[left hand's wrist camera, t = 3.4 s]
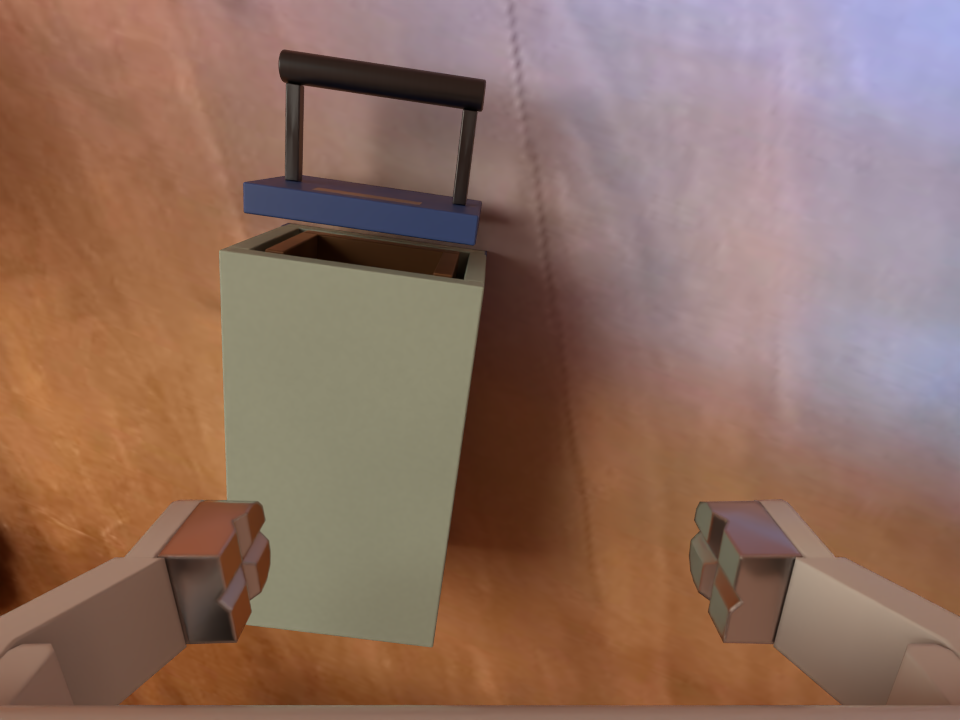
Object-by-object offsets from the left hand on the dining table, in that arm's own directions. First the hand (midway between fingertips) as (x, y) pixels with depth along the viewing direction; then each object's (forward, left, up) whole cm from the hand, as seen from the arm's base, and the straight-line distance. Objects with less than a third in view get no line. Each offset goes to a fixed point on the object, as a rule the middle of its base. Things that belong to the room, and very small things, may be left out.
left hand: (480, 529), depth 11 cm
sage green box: (+10, -2, -21) cm, 23 cm away
